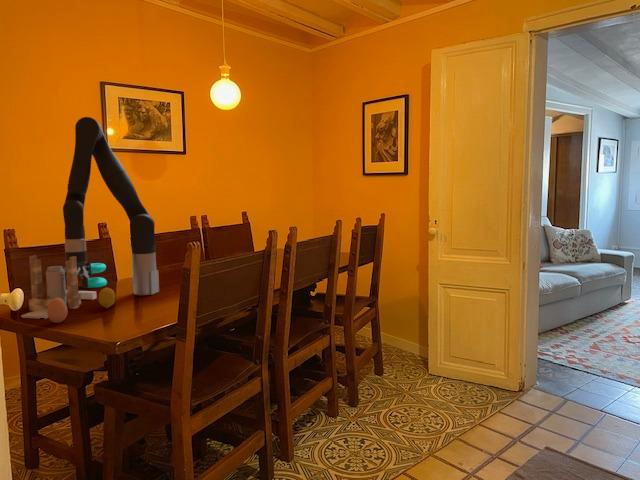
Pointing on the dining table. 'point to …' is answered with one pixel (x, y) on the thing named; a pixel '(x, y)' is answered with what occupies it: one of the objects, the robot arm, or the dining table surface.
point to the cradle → (37, 287)
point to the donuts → (97, 281)
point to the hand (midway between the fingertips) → (78, 290)
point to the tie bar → (87, 294)
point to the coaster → (36, 314)
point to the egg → (57, 310)
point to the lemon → (106, 297)
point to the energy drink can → (56, 283)
